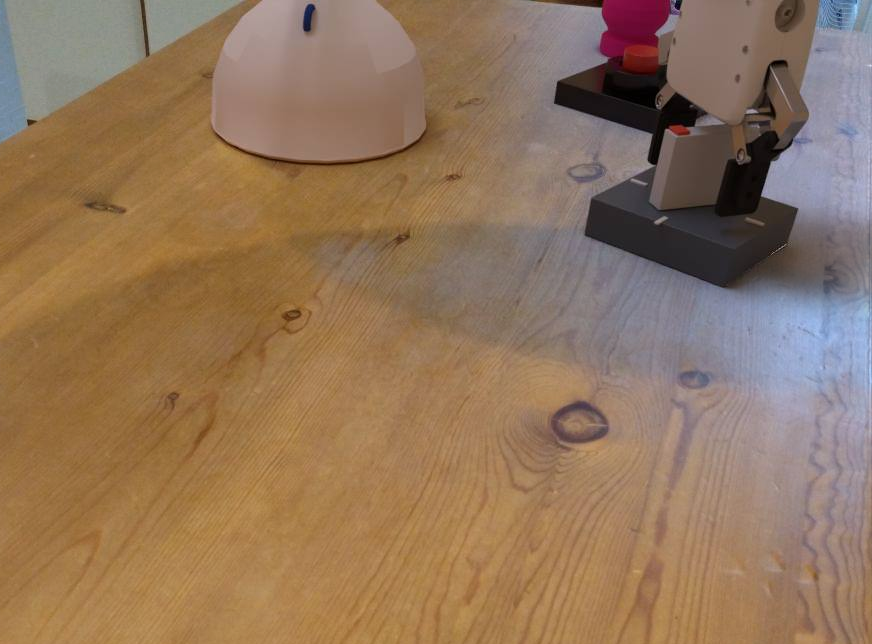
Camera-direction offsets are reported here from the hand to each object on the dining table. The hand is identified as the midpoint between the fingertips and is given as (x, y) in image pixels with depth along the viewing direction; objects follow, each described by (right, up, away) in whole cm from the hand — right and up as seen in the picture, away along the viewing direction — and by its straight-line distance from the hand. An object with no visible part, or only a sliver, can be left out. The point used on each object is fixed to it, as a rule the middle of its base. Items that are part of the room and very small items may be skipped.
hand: (698, 187), depth 79 cm
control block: (+2, +16, +25) cm, 30 cm away
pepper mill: (+5, +28, +39) cm, 48 cm away
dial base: (0, -3, +3) cm, 4 cm away
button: (+2, +19, +23) cm, 30 cm away
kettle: (-29, +13, +20) cm, 37 cm away
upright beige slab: (0, -1, +1) cm, 1 cm away
